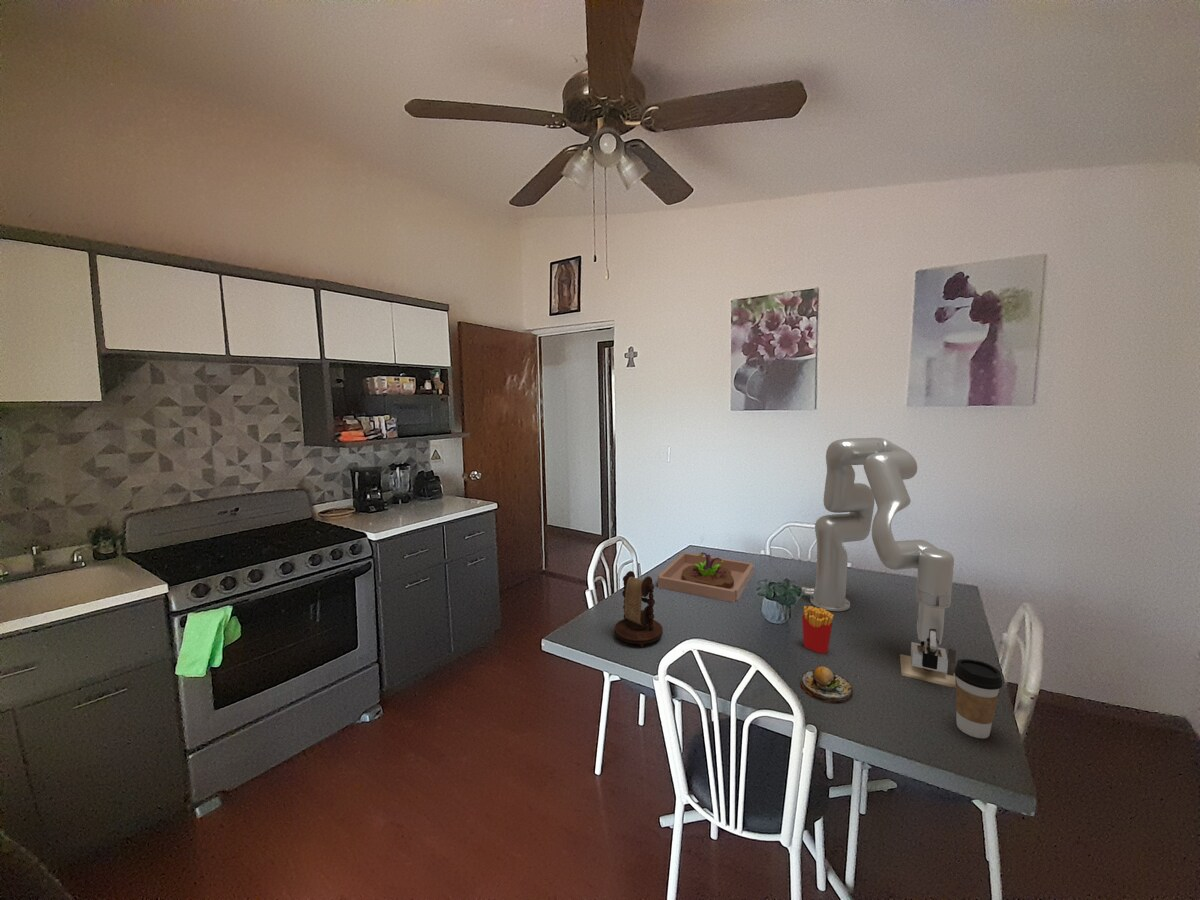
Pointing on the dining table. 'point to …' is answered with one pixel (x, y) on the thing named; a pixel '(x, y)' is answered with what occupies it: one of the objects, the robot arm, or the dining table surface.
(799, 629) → the dining table surface
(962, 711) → the coffee cup
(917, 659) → the link
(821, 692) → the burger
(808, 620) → the french fries
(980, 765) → the dining table surface
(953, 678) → the keeper
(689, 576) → the plant
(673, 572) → the plant saucer
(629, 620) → the scroll
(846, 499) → the robot arm
